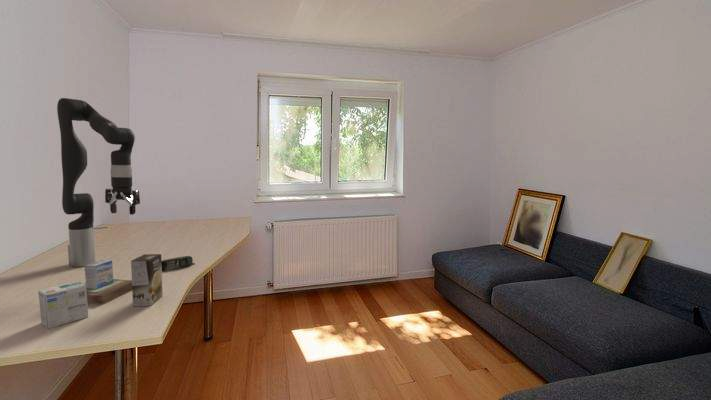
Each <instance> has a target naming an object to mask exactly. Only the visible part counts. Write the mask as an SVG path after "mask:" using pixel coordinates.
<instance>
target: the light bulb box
mask: <svg viewBox="0 0 711 400" xmlns="http://www.w3.org/2000/svg"><path fill="white" fill-rule="evenodd" d="M37 291H38V300H39V302H38V303H39V311H40V320H41V321H40V322H41V325H43V326H44V327H45V328H46V329H48V330H49V329H51V328H54V327H58V326H61V325H65V324H66V325H67V324H69V323H73V322H75V321H78V320H83V319H85V318H88V317H89V307H88V306H89V305H88V303H87V291H86V285H85V283H83V282H80V281H79V280H77V281H74V282H69V283H64V284H59V285H55V286H52V287H46V288H43V289H38V290H37Z"/></svg>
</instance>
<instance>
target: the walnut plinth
mask: <svg viewBox="0 0 711 400" xmlns="http://www.w3.org/2000/svg"><path fill="white" fill-rule="evenodd" d="M84 284H85V285H86V282H85V283H84ZM86 291H87V304H95V305H96V304H98V305H105V304H107V303H109V302H111V301H113V300H115V299H117V298H119V297H122V296H124V295H125V294H127V293H129V292H131V291H132V279H130V280H129V279H120V278H119V279H117V278H116V279H115V278H113V283H110V284H108V285H106V286H103V287H101V288H99V289H88V288H86Z"/></svg>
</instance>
